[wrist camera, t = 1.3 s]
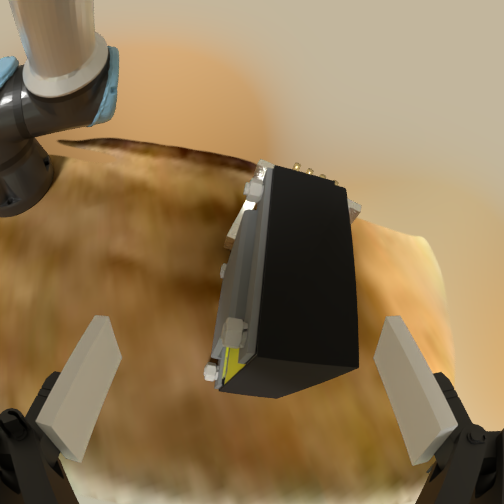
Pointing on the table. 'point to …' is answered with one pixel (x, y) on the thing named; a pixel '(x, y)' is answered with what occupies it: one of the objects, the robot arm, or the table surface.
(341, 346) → the electrical component
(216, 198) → the table surface
